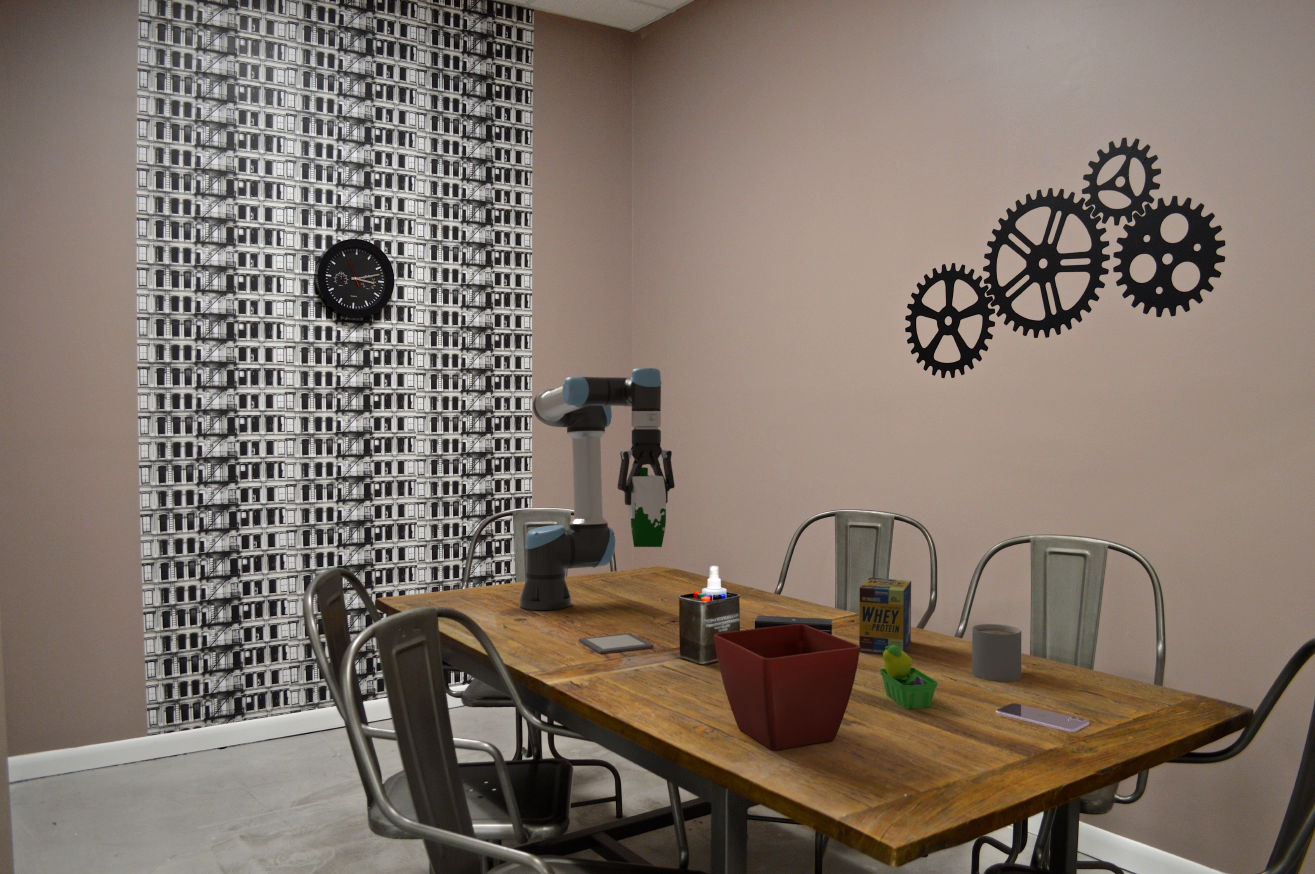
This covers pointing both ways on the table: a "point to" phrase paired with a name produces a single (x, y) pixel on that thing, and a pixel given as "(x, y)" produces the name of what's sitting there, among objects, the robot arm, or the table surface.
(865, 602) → the protein box
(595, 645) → the mat
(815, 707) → the plant pot
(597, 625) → the table surface
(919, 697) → the fruit basket
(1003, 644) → the coffee mug
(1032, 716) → the mobile phone
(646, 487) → the soya milk
